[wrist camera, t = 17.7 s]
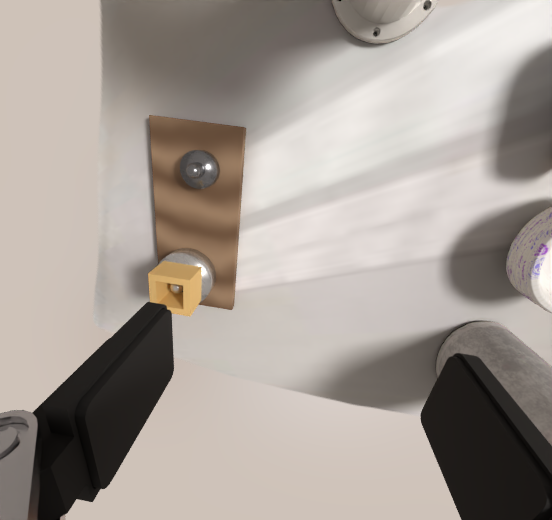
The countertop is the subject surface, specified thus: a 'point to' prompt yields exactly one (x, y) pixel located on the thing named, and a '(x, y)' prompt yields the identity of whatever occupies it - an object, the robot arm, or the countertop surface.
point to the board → (199, 197)
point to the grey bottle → (507, 367)
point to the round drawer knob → (199, 169)
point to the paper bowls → (533, 260)
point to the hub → (194, 259)
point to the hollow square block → (177, 275)
